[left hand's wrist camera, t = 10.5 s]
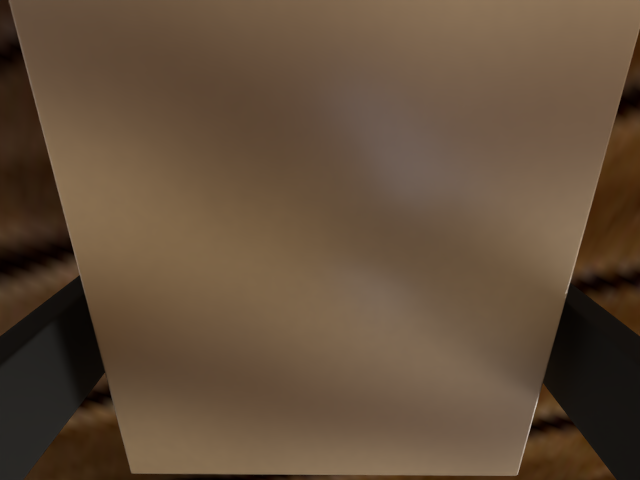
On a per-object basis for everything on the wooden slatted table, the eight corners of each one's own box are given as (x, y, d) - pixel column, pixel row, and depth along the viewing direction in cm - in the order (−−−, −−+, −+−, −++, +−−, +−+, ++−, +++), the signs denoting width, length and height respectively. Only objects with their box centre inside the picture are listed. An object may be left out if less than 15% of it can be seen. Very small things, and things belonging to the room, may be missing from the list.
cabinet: (150, -274, 12) (-329, -1283, 3) (501, -275, 12) (1008, -1305, 3) (216, 301, 19) (130, 474, 11) (430, 302, 19) (518, 476, 11)
